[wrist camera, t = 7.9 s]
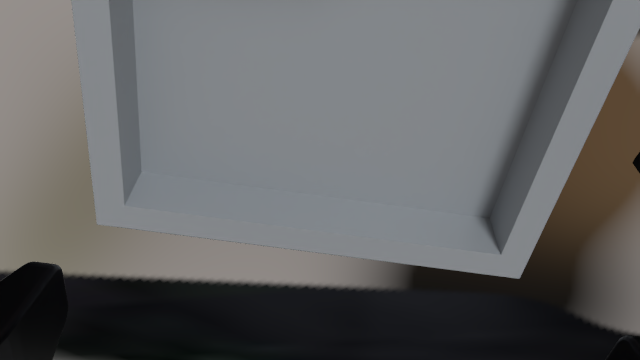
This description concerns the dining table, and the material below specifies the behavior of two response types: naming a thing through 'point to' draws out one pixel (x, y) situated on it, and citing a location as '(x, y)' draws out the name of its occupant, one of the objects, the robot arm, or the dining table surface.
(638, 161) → the digital camera
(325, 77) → the tray
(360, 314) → the dining table surface
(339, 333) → the dining table surface
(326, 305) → the dining table surface
